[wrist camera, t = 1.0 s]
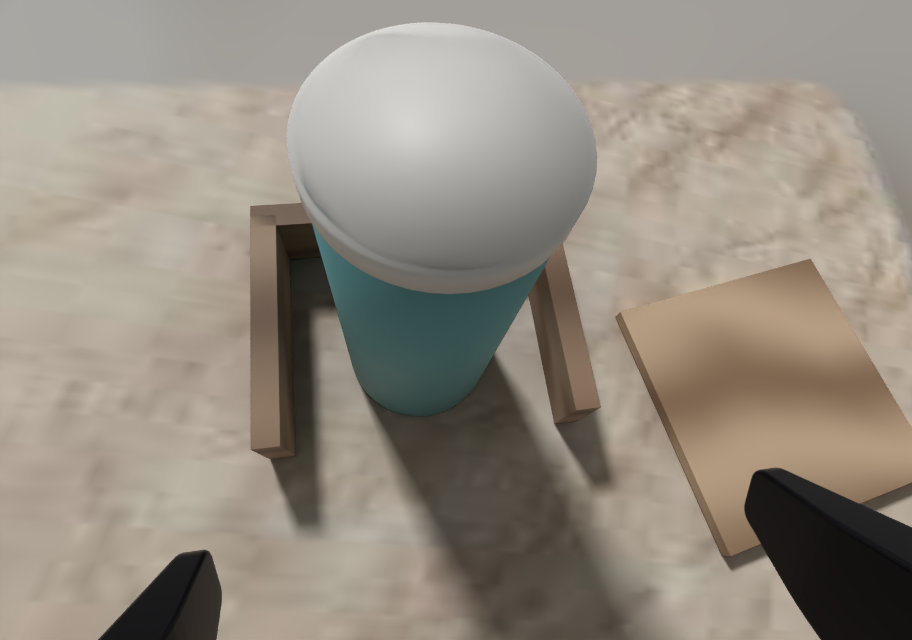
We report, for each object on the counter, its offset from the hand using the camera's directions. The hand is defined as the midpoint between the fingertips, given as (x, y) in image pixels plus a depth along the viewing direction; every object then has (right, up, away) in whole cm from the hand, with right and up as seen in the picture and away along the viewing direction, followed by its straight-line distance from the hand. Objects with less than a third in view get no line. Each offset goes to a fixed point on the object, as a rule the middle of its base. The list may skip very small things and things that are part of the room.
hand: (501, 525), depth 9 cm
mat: (+14, 0, +16) cm, 21 cm away
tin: (-2, +2, +15) cm, 15 cm away
